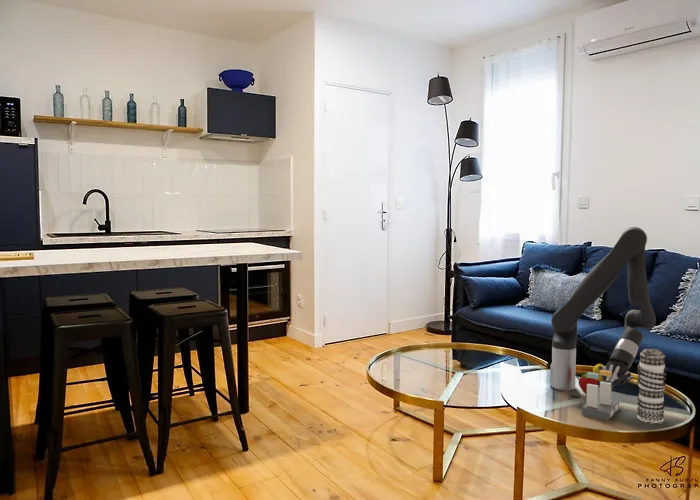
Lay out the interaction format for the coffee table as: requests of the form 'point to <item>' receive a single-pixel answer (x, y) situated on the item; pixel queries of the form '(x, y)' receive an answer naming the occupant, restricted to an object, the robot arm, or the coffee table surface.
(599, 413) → the power strip
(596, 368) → the lemon
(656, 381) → the patterned cylindrical tower
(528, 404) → the coffee table surface
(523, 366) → the coffee table surface
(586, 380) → the strawberry
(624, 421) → the coffee table surface
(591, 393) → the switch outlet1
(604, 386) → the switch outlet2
